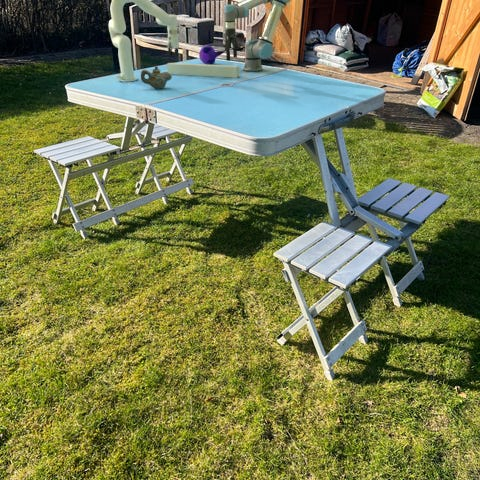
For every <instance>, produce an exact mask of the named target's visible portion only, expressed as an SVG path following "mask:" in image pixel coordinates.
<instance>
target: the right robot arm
mask: <svg viewBox="0 0 480 480" xmlns="http://www.w3.org/2000/svg"><path fill="white" fill-rule="evenodd" d="M290 2H292V1H291V0H241V1H238V2H236V3H235V4H225V5H224V7H223V12H224V28H225V35H227V36H225V44H224V51H225V55H226V56H225V57H226V61H227V62H229V61H231V51H230V49H231V45H232V48H233V49H232V54H233V55H232V56H233V57H232V58H238V48H239V45H238V41H237V34H236V33H237V32H236V31H237V30H236V29H237V28H236V20H237V19H245V18H249V17H250V16H249V15H250V10H251V9H254V8H256V7H259V6H260V5H263V4H264V5H265V4H266V5H267V4H269V3H271V4H272V5H271V7H270V11H269V14H268V17H267V19H266V20H267V21H266V23H265V26H264V29H263V31H262V34H261V36H260V37H259V38H258V39H249V40H248V39H247V40H246V41H245V44H244V45H245V61H244V65H243V71H244V72H260V71H262V70H263V66H262V64H263V65H266V63H265V62H261V60H268V59H269V58H271V57H272V56H273V54H274V49H275V48H274V46H273V45H274V42H273V39H274V36H275V33H276V30H277V27H278V26H279V25H278V24H279V22H280V18H281V15H282V13H283V10H284V9H286V7H287V4H288V3H290Z"/></svg>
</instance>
